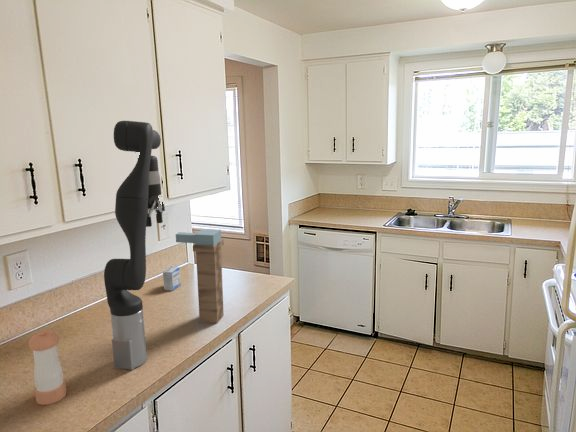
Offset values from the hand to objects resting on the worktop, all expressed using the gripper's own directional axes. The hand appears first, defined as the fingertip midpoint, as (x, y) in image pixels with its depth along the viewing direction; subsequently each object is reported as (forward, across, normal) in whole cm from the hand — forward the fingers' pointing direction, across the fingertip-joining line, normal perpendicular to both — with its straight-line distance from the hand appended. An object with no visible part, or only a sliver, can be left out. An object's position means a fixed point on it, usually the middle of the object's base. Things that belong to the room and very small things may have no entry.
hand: (154, 224), depth 165 cm
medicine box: (+33, +22, +7) cm, 40 cm away
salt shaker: (+38, -58, +3) cm, 69 cm away
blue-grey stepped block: (+6, -6, -20) cm, 22 cm away
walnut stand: (+36, -5, -23) cm, 43 cm away
